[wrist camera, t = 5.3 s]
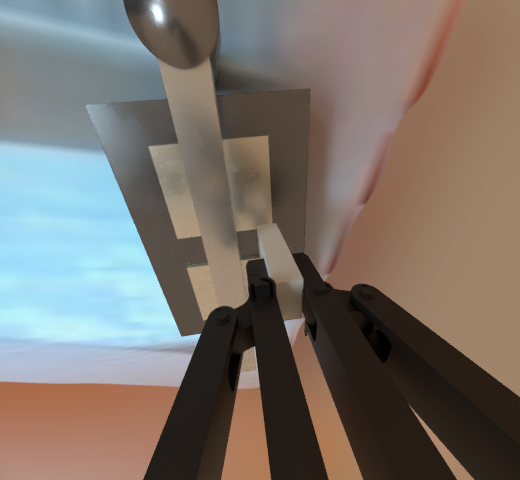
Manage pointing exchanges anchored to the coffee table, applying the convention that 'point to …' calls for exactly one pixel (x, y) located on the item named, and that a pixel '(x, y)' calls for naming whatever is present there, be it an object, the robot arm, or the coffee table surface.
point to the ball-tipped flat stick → (197, 127)
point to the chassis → (178, 192)
